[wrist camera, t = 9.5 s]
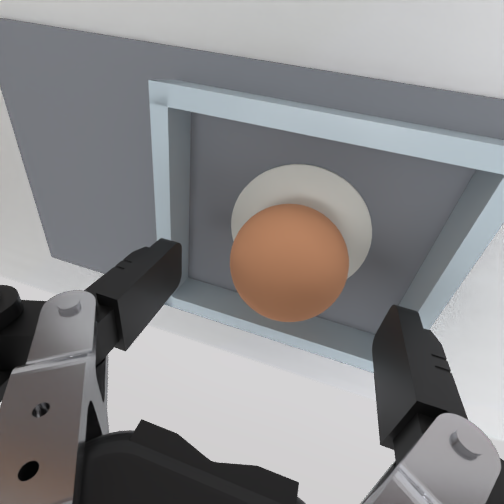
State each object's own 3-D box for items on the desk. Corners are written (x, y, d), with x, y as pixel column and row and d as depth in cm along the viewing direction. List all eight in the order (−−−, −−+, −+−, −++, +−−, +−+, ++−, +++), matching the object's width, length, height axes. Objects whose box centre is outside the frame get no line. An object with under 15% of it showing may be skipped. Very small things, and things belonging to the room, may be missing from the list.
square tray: (176, 283, 19) (160, 303, 17) (174, 79, 12) (148, 79, 11) (389, 350, 17) (394, 379, 15) (518, 142, 10) (551, 154, 9)
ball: (256, 176, 13) (215, 220, 9) (364, 201, 13) (372, 262, 9) (243, 262, 16) (207, 325, 12) (331, 287, 15) (325, 364, 11)
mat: (58, 252, 22) (51, 256, 21) (-9, 16, 14) (-22, 14, 14) (384, 355, 18) (385, 363, 17) (538, 105, 10) (548, 106, 10)
